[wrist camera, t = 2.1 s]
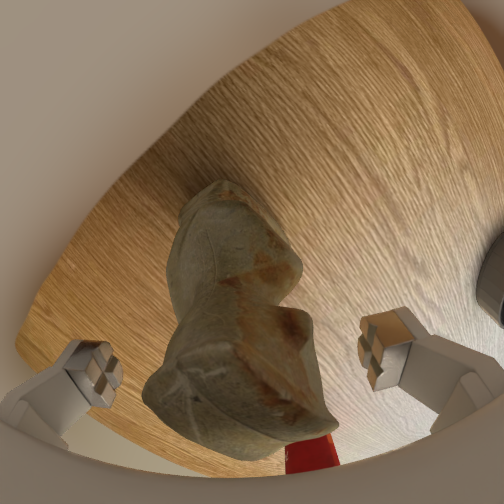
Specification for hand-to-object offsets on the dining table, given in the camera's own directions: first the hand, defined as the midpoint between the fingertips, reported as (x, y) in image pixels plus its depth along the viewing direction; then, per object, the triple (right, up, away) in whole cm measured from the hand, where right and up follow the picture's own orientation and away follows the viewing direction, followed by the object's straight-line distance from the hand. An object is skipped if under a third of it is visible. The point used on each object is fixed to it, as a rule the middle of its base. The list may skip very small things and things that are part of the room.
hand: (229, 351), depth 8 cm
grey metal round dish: (+31, +1, +13) cm, 33 cm away
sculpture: (0, +5, +11) cm, 12 cm away
